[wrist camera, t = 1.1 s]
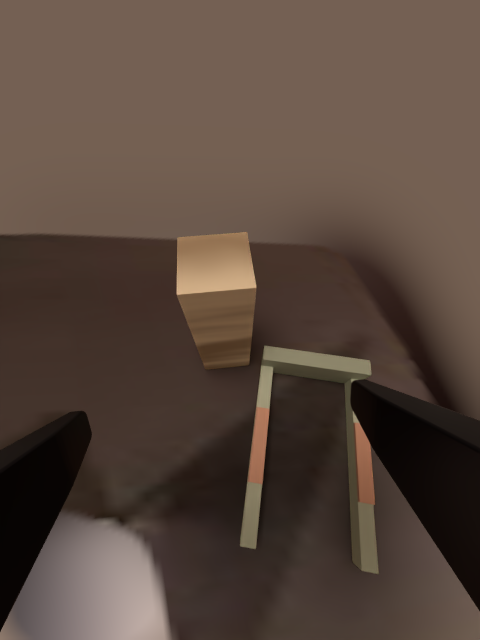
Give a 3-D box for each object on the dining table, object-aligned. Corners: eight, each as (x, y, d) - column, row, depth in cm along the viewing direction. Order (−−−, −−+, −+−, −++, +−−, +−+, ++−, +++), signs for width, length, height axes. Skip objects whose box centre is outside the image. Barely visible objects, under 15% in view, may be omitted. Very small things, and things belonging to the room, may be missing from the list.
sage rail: (367, 565, 17) (391, 584, 14) (240, 539, 17) (240, 553, 15) (355, 371, 23) (369, 360, 20) (261, 358, 24) (264, 345, 21)
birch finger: (249, 365, 23) (256, 287, 13) (205, 369, 23) (176, 294, 13) (243, 324, 25) (246, 229, 15) (203, 328, 25) (177, 234, 15)
